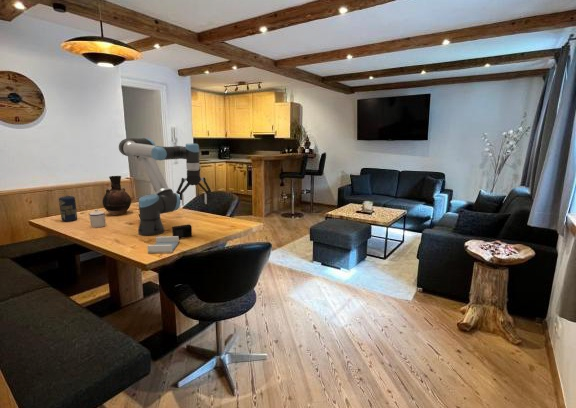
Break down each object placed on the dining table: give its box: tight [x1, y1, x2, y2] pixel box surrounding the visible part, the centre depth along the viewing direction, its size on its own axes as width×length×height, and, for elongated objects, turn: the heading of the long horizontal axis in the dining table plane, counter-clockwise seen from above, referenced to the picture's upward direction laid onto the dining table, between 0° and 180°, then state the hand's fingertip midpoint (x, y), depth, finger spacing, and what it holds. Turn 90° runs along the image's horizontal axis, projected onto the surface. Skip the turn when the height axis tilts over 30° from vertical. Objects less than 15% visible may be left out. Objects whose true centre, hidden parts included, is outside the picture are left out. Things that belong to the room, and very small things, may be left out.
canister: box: [58, 195, 78, 222], centre depth 225 cm, size 10×10×18 cm
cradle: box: [146, 235, 180, 254], centre depth 172 cm, size 12×16×4 cm
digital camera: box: [171, 224, 193, 240], centre depth 190 cm, size 10×5×7 cm, turn 124°
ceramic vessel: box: [102, 175, 132, 216], centre depth 244 cm, size 21×18×30 cm
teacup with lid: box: [88, 208, 107, 229], centre depth 212 cm, size 12×9×12 cm
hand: (194, 204), depth 194 cm, fingers open, 13 cm apart
